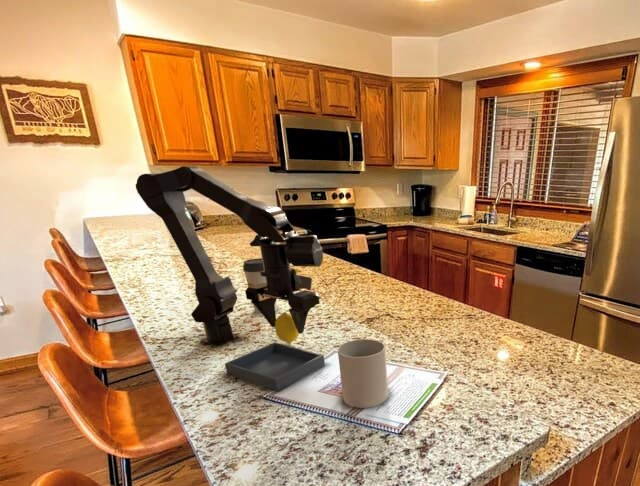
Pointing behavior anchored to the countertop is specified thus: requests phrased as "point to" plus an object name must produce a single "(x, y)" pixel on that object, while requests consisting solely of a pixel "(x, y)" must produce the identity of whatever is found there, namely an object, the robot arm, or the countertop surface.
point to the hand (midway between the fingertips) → (287, 329)
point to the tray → (275, 365)
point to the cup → (363, 373)
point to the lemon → (286, 328)
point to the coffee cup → (255, 274)
